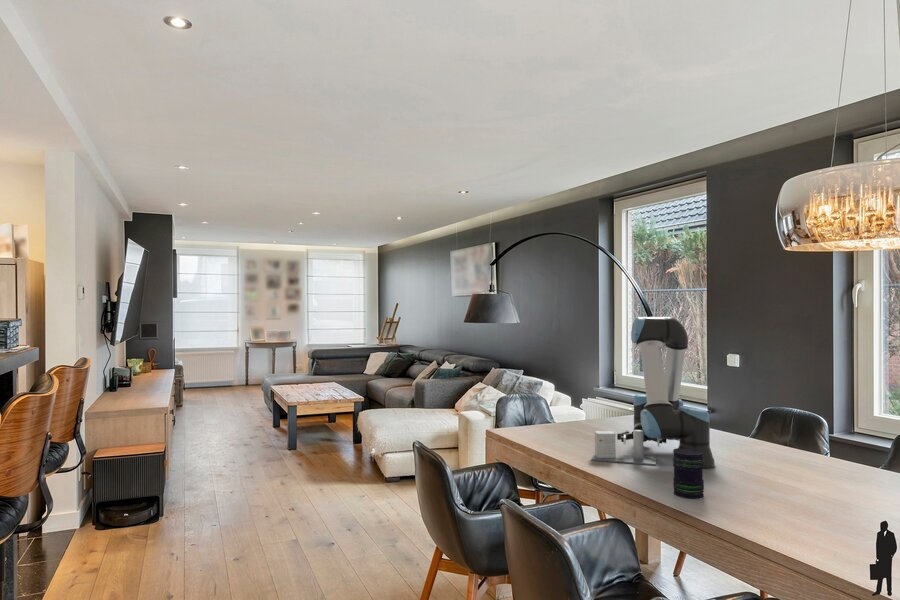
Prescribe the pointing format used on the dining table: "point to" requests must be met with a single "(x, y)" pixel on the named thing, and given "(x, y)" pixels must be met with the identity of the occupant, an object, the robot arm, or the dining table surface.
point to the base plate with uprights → (638, 453)
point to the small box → (605, 444)
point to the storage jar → (688, 473)
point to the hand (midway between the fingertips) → (641, 442)
